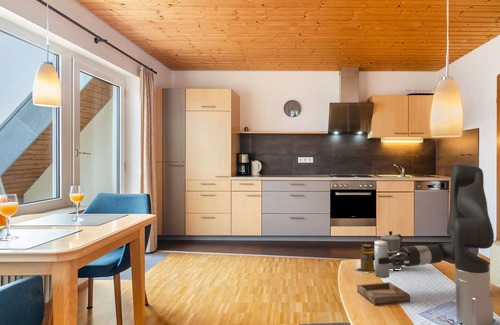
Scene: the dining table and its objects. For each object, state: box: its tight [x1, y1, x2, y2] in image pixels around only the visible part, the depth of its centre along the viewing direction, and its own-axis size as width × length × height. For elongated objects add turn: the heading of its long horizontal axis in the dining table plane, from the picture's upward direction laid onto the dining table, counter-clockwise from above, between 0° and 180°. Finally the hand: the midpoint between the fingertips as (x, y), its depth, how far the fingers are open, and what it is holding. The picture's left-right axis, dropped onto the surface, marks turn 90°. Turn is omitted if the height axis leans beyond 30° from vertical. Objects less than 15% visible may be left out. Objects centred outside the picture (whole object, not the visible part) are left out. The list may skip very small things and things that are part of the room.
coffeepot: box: [380, 230, 403, 270], centre depth 176 cm, size 15×9×18 cm, turn 125°
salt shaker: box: [373, 239, 390, 279], centre depth 139 cm, size 5×5×13 cm
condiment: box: [354, 243, 375, 274], centre depth 173 cm, size 7×8×12 cm
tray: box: [356, 282, 411, 307], centre depth 139 cm, size 14×14×3 cm
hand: (375, 259), depth 139 cm, fingers closed on salt shaker, 5 cm apart
